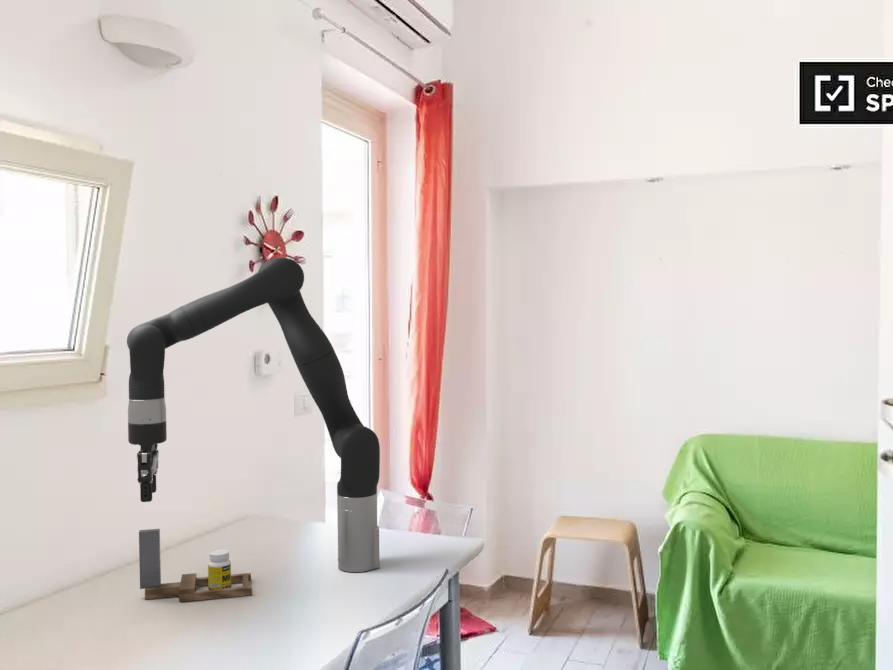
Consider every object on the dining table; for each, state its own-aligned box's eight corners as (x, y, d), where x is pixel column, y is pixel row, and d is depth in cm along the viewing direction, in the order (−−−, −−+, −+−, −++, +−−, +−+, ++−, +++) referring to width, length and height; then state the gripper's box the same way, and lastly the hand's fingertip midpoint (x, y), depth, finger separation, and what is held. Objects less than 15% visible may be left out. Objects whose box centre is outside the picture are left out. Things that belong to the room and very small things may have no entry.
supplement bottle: (224, 595, 171) (224, 556, 171) (204, 594, 172) (203, 555, 172) (235, 587, 176) (234, 549, 176) (215, 586, 177) (214, 548, 177)
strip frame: (251, 579, 181) (249, 517, 180) (251, 594, 171) (250, 529, 170) (143, 589, 175) (141, 524, 175) (137, 605, 165) (136, 537, 165)
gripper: (163, 423, 164) (164, 503, 164) (169, 414, 177) (170, 488, 178) (123, 425, 162) (125, 506, 162) (132, 416, 175) (133, 490, 176)
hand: (148, 496), depth 170 cm, fingers open, 8 cm apart
